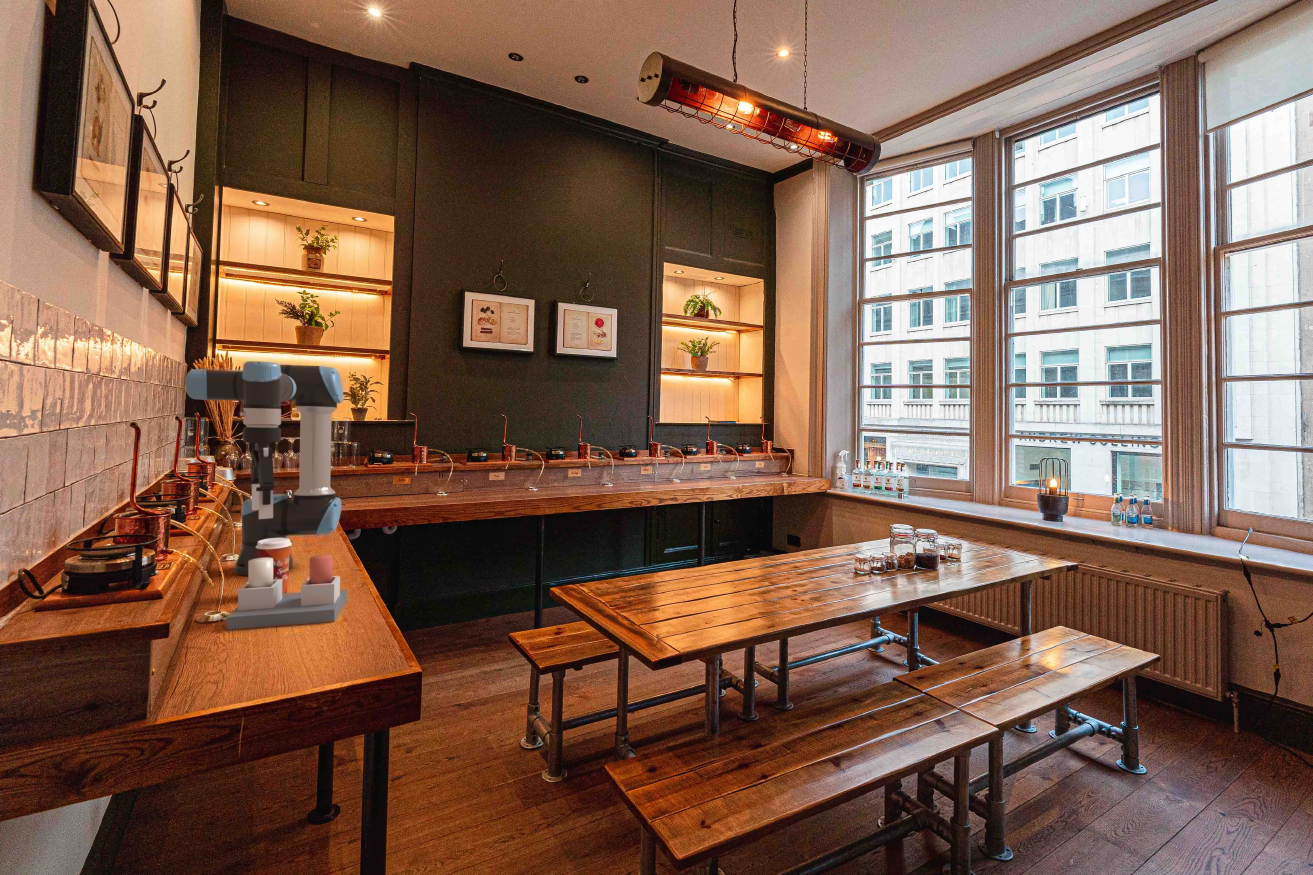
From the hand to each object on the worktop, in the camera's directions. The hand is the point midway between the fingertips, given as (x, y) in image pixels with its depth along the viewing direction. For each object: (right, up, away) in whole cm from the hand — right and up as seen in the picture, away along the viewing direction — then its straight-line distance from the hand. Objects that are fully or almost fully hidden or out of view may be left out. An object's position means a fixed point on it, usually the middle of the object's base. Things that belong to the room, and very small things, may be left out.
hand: (262, 514), depth 139 cm
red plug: (+11, -19, +6) cm, 22 cm away
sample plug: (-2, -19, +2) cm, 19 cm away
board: (+4, -26, +4) cm, 26 cm away
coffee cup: (-9, -25, +19) cm, 32 cm away
